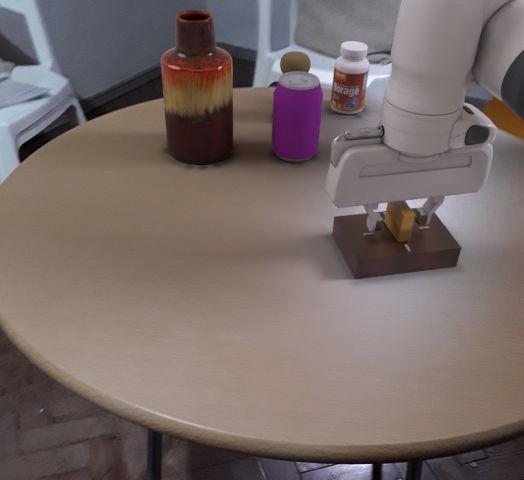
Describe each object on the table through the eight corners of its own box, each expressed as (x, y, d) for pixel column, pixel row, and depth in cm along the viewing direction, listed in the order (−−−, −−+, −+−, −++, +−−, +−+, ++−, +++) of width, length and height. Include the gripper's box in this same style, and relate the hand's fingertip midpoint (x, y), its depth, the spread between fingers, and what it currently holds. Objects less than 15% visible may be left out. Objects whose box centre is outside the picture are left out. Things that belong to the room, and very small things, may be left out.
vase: (193, 171, 98) (185, 33, 84) (155, 146, 104) (141, 12, 90) (246, 151, 104) (247, 18, 89) (207, 128, 109) (202, -1, 95)
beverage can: (298, 137, 108) (303, 65, 99) (327, 156, 103) (334, 82, 95) (262, 149, 104) (264, 75, 96) (289, 168, 100) (294, 93, 92)
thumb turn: (409, 241, 81) (415, 212, 78) (397, 242, 81) (403, 214, 78) (394, 220, 84) (400, 192, 82) (383, 221, 84) (388, 193, 81)
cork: (288, 127, 110) (291, 63, 103) (268, 114, 114) (271, 51, 106) (315, 120, 113) (321, 56, 105) (296, 107, 116) (299, 45, 109)
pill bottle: (325, 111, 115) (331, 48, 107) (335, 99, 119) (342, 37, 112) (358, 118, 114) (366, 54, 106) (367, 105, 118) (376, 42, 110)
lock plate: (425, 224, 89) (430, 205, 87) (456, 266, 83) (462, 246, 80) (331, 235, 87) (334, 215, 85) (355, 279, 80) (358, 259, 78)
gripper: (341, 144, 68) (329, 248, 78) (511, 128, 72) (479, 230, 82) (324, 118, 73) (314, 221, 82) (484, 105, 76) (457, 204, 86)
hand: (397, 225), depth 82 cm, fingers open, 5 cm apart
